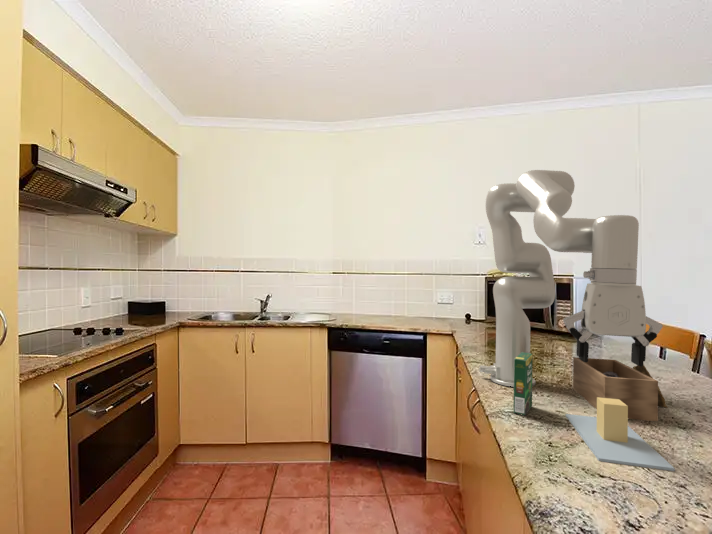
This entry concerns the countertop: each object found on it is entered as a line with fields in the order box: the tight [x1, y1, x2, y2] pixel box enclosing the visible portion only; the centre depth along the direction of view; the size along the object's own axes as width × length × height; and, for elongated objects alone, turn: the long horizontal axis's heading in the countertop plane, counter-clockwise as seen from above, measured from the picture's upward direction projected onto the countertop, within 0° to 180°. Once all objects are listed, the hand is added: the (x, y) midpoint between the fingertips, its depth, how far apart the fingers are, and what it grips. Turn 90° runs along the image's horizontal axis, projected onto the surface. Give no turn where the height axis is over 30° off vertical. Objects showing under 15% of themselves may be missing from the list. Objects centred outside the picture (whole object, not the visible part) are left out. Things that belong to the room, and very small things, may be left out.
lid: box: [565, 397, 676, 472], centre depth 74 cm, size 11×21×8 cm, turn 164°
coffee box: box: [513, 352, 534, 416], centre depth 88 cm, size 8×3×13 cm, turn 144°
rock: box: [632, 363, 669, 409], centre depth 98 cm, size 11×9×10 cm
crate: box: [572, 356, 659, 422], centre depth 94 cm, size 11×21×9 cm, turn 167°
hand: (609, 362), depth 74 cm, fingers open, 9 cm apart
